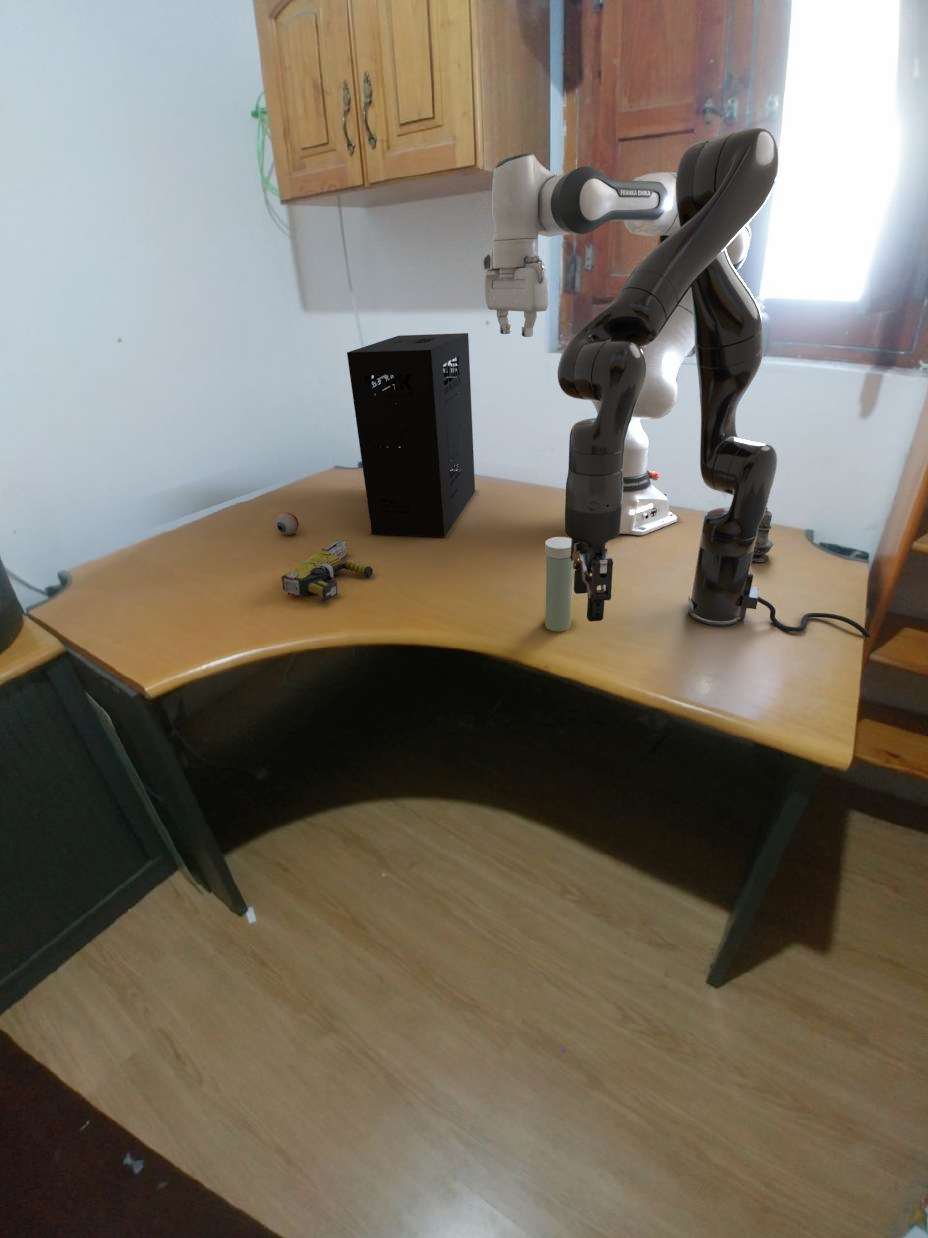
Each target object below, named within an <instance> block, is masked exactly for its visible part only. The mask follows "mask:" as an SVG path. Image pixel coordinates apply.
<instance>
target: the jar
mask: <svg viewBox="0 0 928 1238" xmlns="http://www.w3.org/2000/svg"><path fill="white" fill-rule="evenodd" d="M545 558H546V559H545V560H546V561H545V562H546V563H545V567H546V568H545V614H544V615H545V617H544V618H545V619H544V625H545V627H546V629H547V630H550V631H552V632H565V631H567V630H569V629H570V628H571V622H572V602H573V601H572V599H573V598H572V597H573V579H574V574H573V573H574V569H573V561H571V559H570V558H565V559H556V558H551V557H549V556H547V555H546V557H545Z"/></svg>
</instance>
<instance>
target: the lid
mask: <svg viewBox="0 0 928 1238" xmlns="http://www.w3.org/2000/svg"><path fill="white" fill-rule="evenodd" d="M571 540H572V539H571V538H570V537H568V536H567V537H566V536H555V537H550V538H548V539H546V540H545V542H544V544H545V545H544V551H545V552H544V554H545V556H546V557H547V556H549V557H551V558H556V559H565V558H570V556H571Z"/></svg>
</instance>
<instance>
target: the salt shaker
mask: <svg viewBox="0 0 928 1238" xmlns="http://www.w3.org/2000/svg"><path fill="white" fill-rule="evenodd" d="M772 517H773V513H772V512H771V511H770V510H769V508H768V506H767V507H766V511H765V514H764V517H763V519H762V521H761V523H760V525H759V528H758V532H757V537H756V542H755V547H754V552H753V557H752V562H755V563H763V562H767V561H768V560H769V559H770V557H769V555H767V554H768V553H769V552H770V551H771V550H772V547H773V546H774V542H773V541H772V540H770V539H769V533H770V530H771V529H772V525H771V522H772Z"/></svg>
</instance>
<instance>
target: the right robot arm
mask: <svg viewBox="0 0 928 1238" xmlns="http://www.w3.org/2000/svg"><path fill="white" fill-rule="evenodd" d="M778 169H779V150H778V146H777V141H776V139H775V136H774V135H773V134H772V133H771V131H769V130H768V129H766V128H762V127H751V128H746V129H741V130H736V131H734V132H730V133H727V134H722V135H718V136H715V137H710V138H707V139H703V140H701V141H697V142H695V143H693V144H691V145H690V146H689V145H688V147H687V148H686V149H685V150H684V152H683V153H682V155H681V157H680V159H679V162H678V165H677V169H676V173H677V175H676V204H677V212H678V219H679V225H680V229H678V230H677V231H676V232H674V233H673V234H672V235H671V236H669V237H668V238H667V239H666V240H664V241H663V242H662V243H660V244H659V245H658V244H657V246H656V247H654V248H653V249H652V250H651V251H649V253H648V254H646V255H645V257H643V259H642V260H641V261H640V262H639V263H638V264H637V265H636V266H635V268H634V269H633V271H631V273H630V275H629V276H628V278H627V279H626V281H625V282H624V283H623V285H622V287H621V288H620V290H619V291H618V293H616V296H615V297H614V298H613V300H612V302H611V303H610V304H609V305H607V306H606V307H605V308H604V309H602V310H601V311H600V312H599V313H597V315H596V316H594V317H593V318H592V319H591V320H590V321H589V322H587V324H586V325H584V326H583V327H582V328H581V329H580V330H579V331H578V332H577V333H576V334H574V336H573V337H572V338H571V339H570V340H569V342H568V343H567V344H566V347H565V348H564V350H563V351H562V354H561V356H560V359H559V361H558V366H557V381H558V385H559V387H560V389H561V390H562V392H563V393H564V394H565V395H567V396H568V397H570V398H573V399H577V400H582V401H583V400H585V401H590V402H592V401H599V402H601V407H600V410H599V413H598V414H597V415H596V417H593V418H587V419H582V420H579V421H577V422H576V423H574V424H573V425H572V427H571V429H570V431H569V442H568V464H567V465H568V468H567V469H568V471H567V477H566V481H565V482H566V483H565V504H564V505H565V506H564V533H565V536H567V538H570V539H572V540H571V556H570V559H571V561H573V573H574V574H573V591H574V593H575V594H576V595H580V594H587V595H586V596H587V605H586V619H587V621H588V622H591V623H592V622H601V621H603V620H604V613H605V601H611V599H612V587H613V572H614V571H613V569H614V560H613V558H612V557H609V550H608V548H606V544H607V543H608V542H610V541H611V540H615V539H616V538H617V537H618V536H619V535H620V534H619V532H620V523H621V510H622V498H623V461H624V448H625V438H626V434H627V431H628V428H629V425H630V422H631V419H632V415H633V412H634V409H635V406H636V404H637V401H638V398H639V396H640V393H641V390H642V387H643V384H644V381H645V375H646V362H645V357H644V354H643V353H644V351H643V350H642V348H644V346H647V345H649V344H650V343H652V342H653V341H654V340H655V339H656V338H657V336H658V335H659V334H660V332H661V331H662V329H663V327H664V326H665V325H666V323H667V322H668V320H669V319H670V317H671V315H672V314H673V312H674V311H675V309H676V308H677V306H678V305H679V303H680V302H681V300H682V299H683V297H684V296H685V294H686V293H687V292H688V290H689V289H691V299H692V309H693V321H694V341H695V346H694V350H695V351H694V352H695V353H694V354H695V363H696V371H697V378H698V390H699V407H700V410H699V411H700V443H699V445H700V446H699V448H700V449H699V455H700V456H699V468H700V476H701V479H702V481H703V483H704V484H705V486H706V487H708V489H711V490H714V491H716V492H720V493H724V494H726V495H730V496H732V500H731V503H730V506H725V507H717V508H714V509H712V510H709V511H708V512H706V513H705V514H704V516H703V520H702V527H701V533H700V539H699V544H698V550H697V551H698V553H697V557H696V565H695V571H694V576H693V583H692V590H691V596H688V599H687V601H688V603H689V607H688V614H689V615H690V616H691V617H692V619H695V620H696V621H698V622H700V623H703V624H707V625H712V626H719V627H722V626H731V625H734V624H736V623H738V622H739V621H744V620H745V618H746V614H747V609H751V610H757V606H758V603H759V604H761V605H763V606H765V607H766V608H768V610H769V619H770V621H771V623H773V625H774V626H776V627H777V628H779V629H780V630H783V631H787V632H794V633H795V632H801V631H804V630H805V628H806V627H807V623H808V619H810V618H822V619H823V618H824V619H830V620H831V619H833V620H837V621H841V622H844V623H846V624H848V625H850V626H852V627H853V628H854V629H856V630H858V631H859V632H860V633H861V635H863V636H864V637H865V638H870V639H871V638H872V635H871V634H870V633H869V631H868V630H867V629H865V627H863V626H862V625H860V623H858V622H856V621H855V620H852V619H851V618H849V617H846V616H842V615H839V614H834V613H828V612H827V613H826V612H808V613H805V614H804V615H803V616H802V618H801V621H800V625H798V626H789V625H785V624H783V623H782V622H780V621H779V620H778V619H777V618H776V608H775V606H774V605H773V604H772V603H770V602H769V601H768V600H765V599H764V598H762V597H760V596H759V587H755V586H752V585H753V581H754V574H753V572H752V571H751V566H752V562H753V561H752V557H753V552H754V547H755V542H756V537H757V532H758V528H759V525H760V523H761V521H762V519H763V517H764V514H765V511H766V507H767V508H768V502H769V498H770V494H771V491H772V488H773V485H774V482H775V481H774V480H775V477H776V472H777V467H778V456H777V455H778V454H777V451H776V449H775V448H774V447H773V446H772V445H771V444H768V443H764V442H759V441H755V440H750V439H745V438H739V436H738V434H737V429H736V428H737V427H736V425H737V423H736V420H737V419H736V415H737V409H738V406H739V404H740V401H741V400H742V398H743V397H744V395H745V393H746V392H747V390H748V389H749V387H750V386H751V384H752V383H753V380H754V379H755V377H756V375H757V374H758V372H759V370H760V368H761V367H760V366H761V363H762V360H763V320H762V313H761V310H760V307H759V305H758V303H757V300H756V298H754V296H753V294H752V293H751V291H750V289H749V288H748V287H747V285H746V283H745V282H744V280H743V279H742V278H741V276H740V275H739V273H738V272H737V271H735V269H734V267H733V266H732V264H731V262H730V260H729V258H728V255H727V252H726V249H725V247H726V246H727V245H728V244H729V243H730V242H731V241H732V240H733V239H734V238H735V236H736V235H737V234H738V233H739V232H740V231H741V230H742V229H743V228H744V227H745V226H746V225H747V224H748V225H749V223H750V222H751V221H752V219H754V218H755V216H756V215H757V214H758V213H759V211H761V209H762V208H763V206H764V205H765V204H766V203H767V200H768V199H769V197H770V196H771V193H772V191H773V188H774V186H775V184H776V180H777V175H778V171H779V170H778ZM599 586H600V589H598V587H599Z"/></svg>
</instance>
